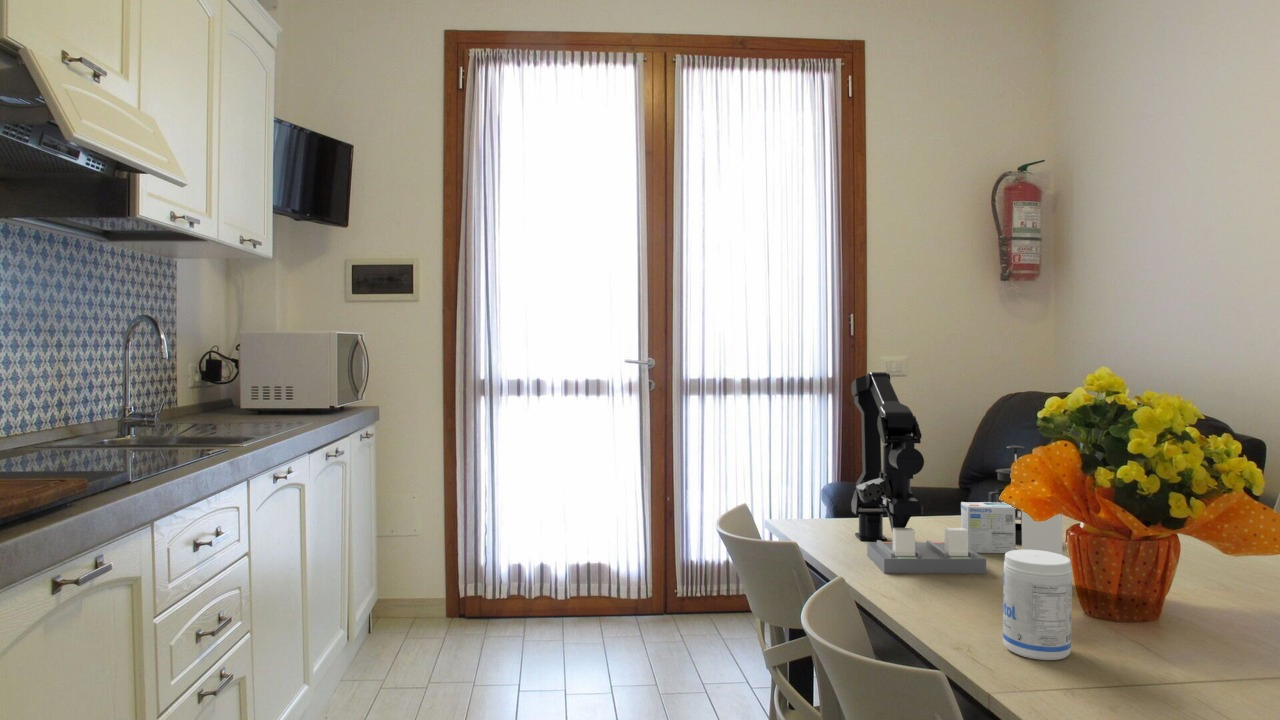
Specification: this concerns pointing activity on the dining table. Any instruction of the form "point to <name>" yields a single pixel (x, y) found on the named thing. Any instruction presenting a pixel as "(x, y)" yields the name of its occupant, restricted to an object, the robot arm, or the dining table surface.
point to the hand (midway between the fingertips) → (896, 538)
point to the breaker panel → (925, 559)
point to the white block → (903, 541)
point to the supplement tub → (1037, 604)
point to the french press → (1003, 476)
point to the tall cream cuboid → (956, 541)
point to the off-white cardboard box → (1042, 534)
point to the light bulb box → (989, 526)
